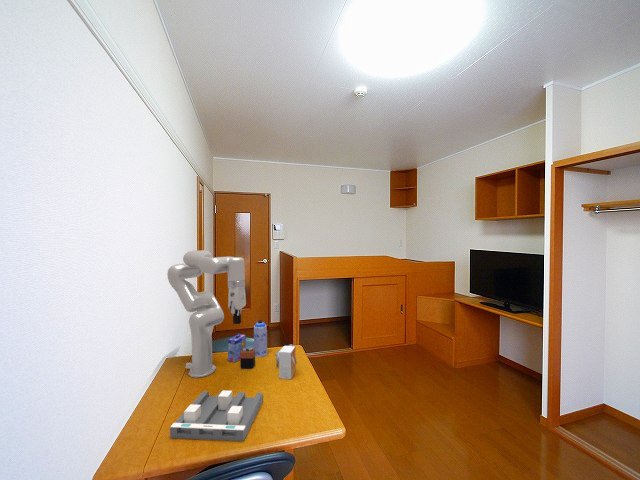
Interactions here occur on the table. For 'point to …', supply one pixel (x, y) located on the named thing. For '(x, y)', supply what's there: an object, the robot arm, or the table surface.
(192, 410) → the switch tab left
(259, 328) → the aerosol can
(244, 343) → the ink cartridge box
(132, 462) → the table surface
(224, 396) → the switch tab middle
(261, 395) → the switch panel
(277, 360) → the voltmeter
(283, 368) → the small box
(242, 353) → the battery
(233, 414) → the switch tab right
